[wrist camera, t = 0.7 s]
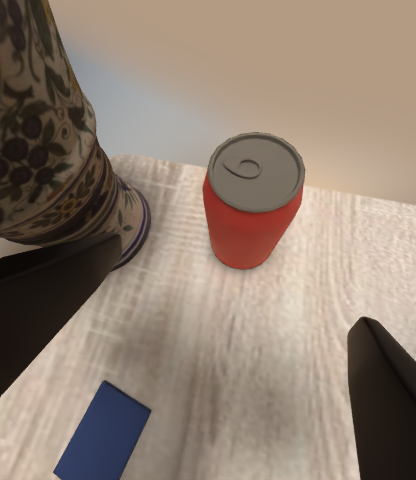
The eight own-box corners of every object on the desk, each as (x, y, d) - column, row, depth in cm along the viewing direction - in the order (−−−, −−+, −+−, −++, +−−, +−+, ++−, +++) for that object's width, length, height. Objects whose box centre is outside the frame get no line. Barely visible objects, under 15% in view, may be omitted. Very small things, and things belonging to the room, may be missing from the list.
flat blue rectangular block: (105, 508, 17) (102, 513, 17) (56, 468, 18) (52, 472, 18) (151, 410, 19) (149, 412, 19) (105, 380, 20) (102, 381, 20)
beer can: (223, 206, 26) (222, 114, 14) (279, 224, 24) (326, 138, 13) (201, 257, 24) (180, 198, 12) (262, 280, 22) (299, 236, 11)
